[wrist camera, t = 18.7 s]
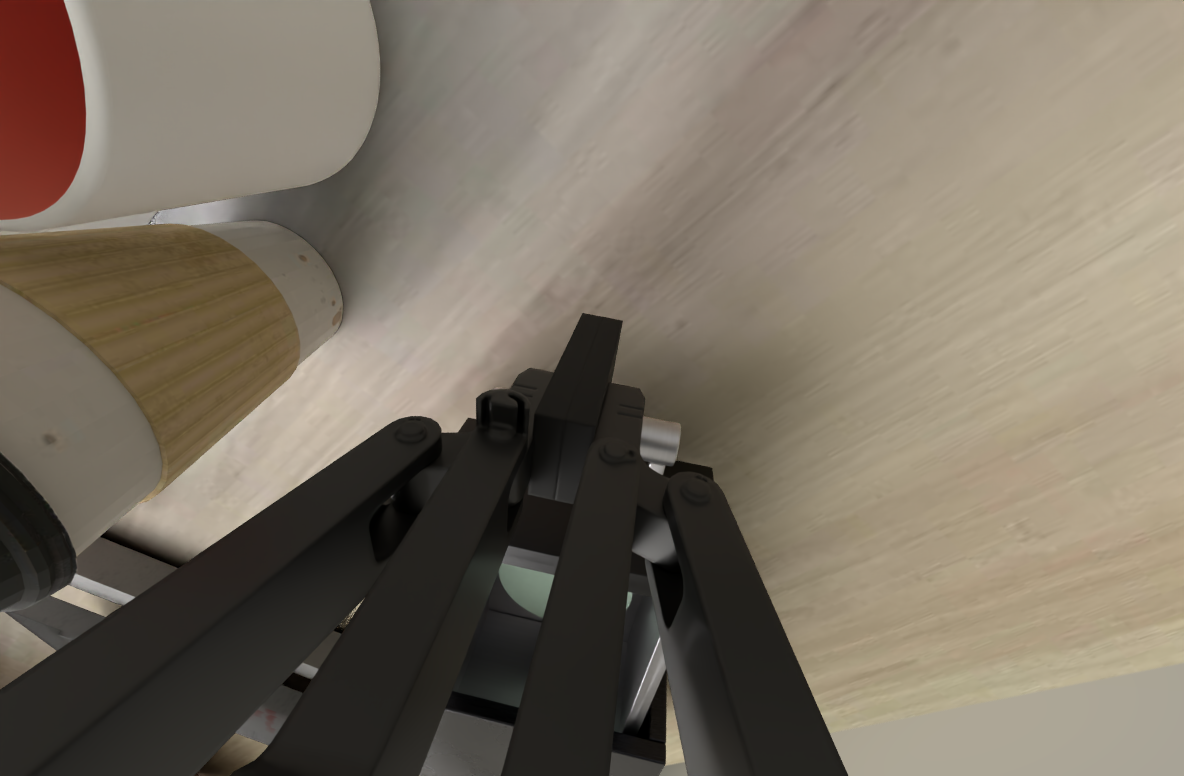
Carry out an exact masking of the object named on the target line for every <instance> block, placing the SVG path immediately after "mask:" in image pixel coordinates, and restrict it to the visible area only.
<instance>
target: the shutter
mask: <svg viewBox="0 0 1184 776" xmlns="http://www.w3.org/2000/svg"><path fill="white" fill-rule="evenodd" d="M176 569H178V568H176V567H174V566H171V565H169V564H166V563H164V562H161V561H159V560H156V559H154V558H151V557H149V556H146V555H144V554H141V553H139V552H136V551H134V550H131V549H129V548H126V547H124V546H121V545H119V544H116V543H114V542H111V541H109V540H107V539H104V538H102V537H99V538H98V539H96V540H95V541H94V542H93V543H92V544H91V545H90V546H88V547H87V548H86V549H85V550H84V551H83V552H81V553H80V554H79V555H78V556H77V572H76V574H75V576H74V578H73V580H72V582H71V583H70V584H69V585H70V586H73V587H75V588H78V589H80V590H83V591H85V592H88V593H91V594H93V595H96V596H98V597H101V598H103V599H106V600H109V601H111V602H114V603H116V604H119V605H121V606H123V605H125V604H126V603H128V602H129V601H131V600H132V599H134V598H135V597H137V596H138V595H140V594H141V593H143V592H144V591H145V590H147V589H148V588H150V587H151V586H153V585H154V584H156V583H157V582H159V581H160V580H162V579H163V578H164V577H166V576H167V575H169V574H170V573H172V572H173V571H175V570H176ZM5 613H7V614H8V615H9V616H11V617H12V618H13V619H15V620H16V621H17V622H19V623H20V624H21V625H23V626H24V627H25V628H27V629H28V630H30V631H31V632H32V633H34V634H35V635H36V636H38V637H39V638H40V639H42V640H43V641H44V642H46V643H47V644H48V645H50V646H51V647H52V648H54V649H55V650H57V651H58V650H59V649H61V648H62V647H63V646H65V645H66V644H68V643H69V642H71V641H72V640H74V639H75V638H77V637H78V636H80V635H81V634H82V633H84V632H85V631H87V630H88V629H90V628H91V627H93V626H94V625H96V624H97V623H99V622H100V621H102V620H103V619H104V618H106V617H104V616H101V615H99V614H96V613H93V612H91V611H88V610H86V609H83V608H80V607H78V606H75V605H73V604H70V603H67V602H65V601H62V600H60V599H57V598H54V597H52V596H48V597H46V598H44V599H43V600H41V601H39V602H38V603H36V604H34V605H32V606H30V607H28V608H26V609H23V610H17V611H11V612H5ZM340 635H341V633H338V632H336V631H332V632H331V633H330V634H329V635H328V636H327V638H326V639H325V640H324V641H323V642H322V643H321V644H320V645H319V646H318V647H317V648H316V649H315V650H314V651H313V652H312V653H311V654H310V655H309V656H308V657H307V658H306V659H305V660H304V662H303V663H302V664H301V665H300V666H299V667H298V668H297V669H296V670H295V671H294V673H296V674H299V675H302V676H304V677H307V678H309V679H313V677H314V676H315V674H316V673H317V671H318V669H319V668H320V666H321V665H322V663H323V662H324V660H325V659H326V657H327V656H328V654H329V652H330V651H331V649H332V648H333V646H334V645H335V643H336V642H337V640H338V639H339V637H340ZM302 694H303V693H301V692H299V691H296V690H294V689H291V688H288V687H286V686H283V685H281V686H280V687H279V688H278V689H277V690H276V691H275V692H274V693H273V694H272V695H271V696H270V697H269V698H268V699H267V700H266V701H265V702H264V703H263V704H262V705H261V706H260V707H259V708H258V710H257V711H256V712H255V713H254V714H253V715H252V716H251V717H250V718H249V719H248V720H247V721H246V722H245V723H244V724H243V725H242V726H241V727H240V728H239V729H238V730H237V731H236V732H235V733H237V734H239V735H242V736H245V737H247V738H250V739H253V740H256V741H258V742H261V743H264V744H266V745H269V744H270V743H271V742H272V740H273V739H274V737H275V736H276V734H277V733H278V731H279V730H280V728H281V727H282V725H283V723H284V722H285V720H286V719H287V717H288V716H289V714H290V713H291V711H292V710H293V708H294V706H295V705H296V703H297V702H298V700H299V699H300V697H301V696H302Z"/></svg>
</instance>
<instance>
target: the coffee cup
mask: <svg viewBox="0 0 1184 776" xmlns="http://www.w3.org/2000/svg"><path fill="white" fill-rule="evenodd" d="M342 316H343V301H342V295H341V292H340V288H339V285H338V283H337V281H336V279H335V276H334V274H333V272H332V271H331V269H330V268H329V266H328V265H327V263H326V262H325V260H324V259H323V258H322V257H321V256H320V254H319V253H318V252H317V251H316V250H315V249H314V248H313V247H312V246H311V245H310V244H309V243H307V242H306V241H305V240H304V239H303V238H301V237H300V236H298V235H297V234H295V233H294V232H292V231H291V230H289V229H287V228H284V227H282V226H280V225H278V224H274V223H271V222H267V221H256V220H251V221H239V222H227V223H215V224H203V225H191V226H188V225H183V224H156V225H142V226H127V227H113V228H99V229H85V230H71V231H57V232H43V233H29V234H14V235H0V612H11V611H17V610H23V609H26V608H28V607H30V606H32V605H34V604H36V603H38V602H39V601H41V600H43V599H44V598H46V597H48V596H50V595H52V594H54V593H55V592H57V591H59V590H60V589H62V588H64V587H65V586H67V585H69V584H70V583H71V582H72V580H73V578H74V576H75V574H76V572H77V556H78V555H79V554H80V553H81V552H83V551H84V550H85V549H86V548H87V547H88V546H90V545H91V544H92V543H93V542H94V541H95V540H96V539H98V538H99V537H100V536H101V535H102V534H103V533H105V532H106V531H107V530H108V529H109V528H110V527H111V526H113V525H114V524H115V523H116V522H117V521H118V520H120V519H121V518H122V517H123V516H124V515H125V514H126V513H128V512H129V511H130V510H131V509H132V508H133V507H134V506H136V505H137V504H139V503H143V502H147V501H149V500H150V499H152V498H153V497H155V496H156V495H158V494H159V493H160V492H161V491H162V490H164V489H165V488H166V487H167V486H168V485H169V484H170V483H172V482H173V481H174V480H175V479H176V478H177V477H178V476H179V475H181V474H182V473H183V472H184V471H185V470H186V469H187V468H188V467H190V466H191V465H192V464H193V463H194V462H195V461H196V460H197V459H199V458H200V457H201V456H202V455H203V454H204V453H205V452H207V451H208V450H209V449H210V448H211V447H212V446H213V445H214V444H216V443H217V442H218V441H219V440H220V439H221V438H222V437H223V436H225V435H226V434H227V433H228V432H229V431H230V430H231V429H233V428H234V427H235V426H236V425H237V424H238V423H239V422H240V421H242V420H243V419H244V418H245V417H246V416H247V415H248V414H249V413H251V412H252V411H253V410H254V409H255V408H256V407H257V406H258V405H260V404H261V403H262V402H263V401H264V400H265V399H266V398H268V397H269V396H270V395H271V394H272V393H273V392H274V391H275V390H277V389H278V388H279V387H280V386H281V385H282V384H283V383H284V382H286V381H287V380H288V379H289V378H290V377H291V375H292V374H293V373H294V371H295V370H296V368H297V366H298V365H299V364H300V363H302V362H303V361H304V360H305V359H306V358H307V357H309V356H310V355H311V354H312V353H313V352H314V351H316V350H317V349H318V348H319V347H320V346H321V345H322V344H324V343H325V342H326V341H327V340H328V339H329V338H331V337H332V336H333V335H334V334H335V332H336V331H337V330H338V328H339V326H340V323H341V321H342Z"/></svg>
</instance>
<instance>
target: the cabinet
mask: <svg viewBox="0 0 1184 776" xmlns="http://www.w3.org/2000/svg"><path fill="white" fill-rule="evenodd" d="M666 701H667V670H665V672H664V674H663V677H662V679H661V681H660V684H659V686H658V688H657V690H656V693H655V695H654V697H653V700H652V702H651V704H650V706H649V709H648V711H647V713H646V716H645V718H644V720H643V723H642V725H641V727H640V729H639V732H638V734H637V736H632V735H628V734H624V733H620V732H616V731H614V734H613V744H612V753H611V763H610V773H609V776H659V774H660V773H661V771H662V769H663V767H664V766H665V764H666V745H665V743H666ZM518 709H519V707H515V706H511V705H507V704H503V703H499V702H495V701H491V700H487V699H483V698H479V697H475V696H471V695H467V694H463V693H459V692H455V691H452V693H451V695H450V698H449V700H448V703H447V705H446V708H445V711H444V713H443V716H442V718H441V721H440V723H439V726H438V729H437V731H436V734H435V736H434V739H433V742H432V744H431V747H430V749H429V752H428V754H427V757H426V760H425V762H424V765H423V767H422V770H421V772H420V776H501V773H502V769H503V765H504V762H505V758H506V754H507V751H508V747H509V743H510V739H511V736H512V732H513V728H514V724H515V721H516V717H517V713H518Z"/></svg>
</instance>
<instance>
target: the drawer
mask: <svg viewBox="0 0 1184 776" xmlns="http://www.w3.org/2000/svg"><path fill="white" fill-rule="evenodd" d="M495 389H505V388H500V387H495V388H493V389H492V390H495ZM475 427H476V419H472V418H468V419H467V420H466V422H465V423H464V424H463V426H462V427H461V429H460V430H459V432H458V433H461V432H469V431H473V430H474V429H475ZM680 438H681V425H680V424H679V423H675V422H670V421H665V420H660V419H655V418H650V417H645V416H643V424H642V434H641V443H640V454H641V457H642V459H643V460H644V462H645V463H646V464H647V465H648V466H649V467H650V468H651V469H653V470H654V471H656V472H658V473H660V474H662V475H664V476H666V477H668V478H671V476H673V475H675V474H677V473H679V472H687V471H689V472H695V473H700V474H702V475H704V476H706V477H708V478H710V479H711V480H713V471H712V468H711V467H706V466H701V465H696V464H691V463H686V462H682V461H677V460H676V458H677V454H678V450H679V444H680ZM713 481H714V480H713ZM528 487H529V484H528V486H527V488H526V491H525V493H524V500H523V509H522V512H521V515H520V517H519V520H518V522H517V525H516V528H515V530H514V533H513V535H512V538H511V540H510V543H509V546H508V548H507V551H506V553H505V556H504V558H503V561H502V563H503V564H508V565H512V566H516V567H521V568H525V569H530V570H534V571H538V572H543V573H547V574H552V575H555V571H556V567H557V564H558V560H559V556H560V552H561V549H562V545H563V541H564V538H565V534H566V530H567V526H568V523H569V519H570V515H571V511H572V508H573V504H569V503H565V502H560V501H556V500H551V499H547V498H542V497H537V496H533V495H528ZM628 592H631V593H633V596H632V600H631V603H630V605H629V607H628V608H627V609H626V615H625V625H624V635H623V645H622V655H621V665H620V674H619V684H618V694H617V704H616V714H615V724H614V731H616V732H620V733H624V734H628V735H632V736H637V734H638V732H639V729H640V727H641V725H642V723H643V720H644V718H645V716H646V713H647V711H648V709H649V706H650V704H651V702H652V700H653V697H654V695H655V693H656V690H657V688H658V686H659V684H660V681H661V679H662V677H663V674H664V672H665V670H666V665H665V660H664V655H663V650H662V645H661V640H660V635H659V630H658V625H657V620H656V616H655V611H654V606H653V601H652V596H651V591H650V586H649V581H648V576H647V571H646V566H645V558H643V557H642V556H640V555H638V554H636V553H634V552H632V556H631V566H630V576H629V586H628ZM542 620H543V618H541V617H539V616H537V615H535V614H533V613H531V612H529V611H527V610H526V609H524V608H523V607H521V606H520V605H519V604H517V603H516V602H515V601H514V600H513V599H512V598H511V597H510V596H509V595H508V593H507V592H506V591H505V589H504V588H503V586H502V583H501V581H500V578H499V571H498V574H497V577H496V579H495V582H494V584H493V587H492V589H491V592H490V595H489V597H488V600H487V602H486V605H485V607H484V610H483V613H482V615H481V618H480V620H479V623H478V625H477V628H476V631H475V633H474V636H473V638H472V641H471V644H470V646H469V649H468V651H467V654H466V656H465V659H464V662H463V664H462V667H461V669H460V672H459V674H458V677H457V680H456V682H455V685H454V687H453V690H452V691H455V692H459V693H463V694H467V695H471V696H475V697H479V698H483V699H487V700H491V701H495V702H499V703H503V704H507V705H511V706H515V707H519V706H520V702H521V698H522V694H523V691H524V687H525V683H526V680H527V676H528V672H529V668H530V665H531V661H532V657H533V653H534V650H535V646H536V642H537V638H538V635H539V631H540V627H541V623H542Z"/></svg>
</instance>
